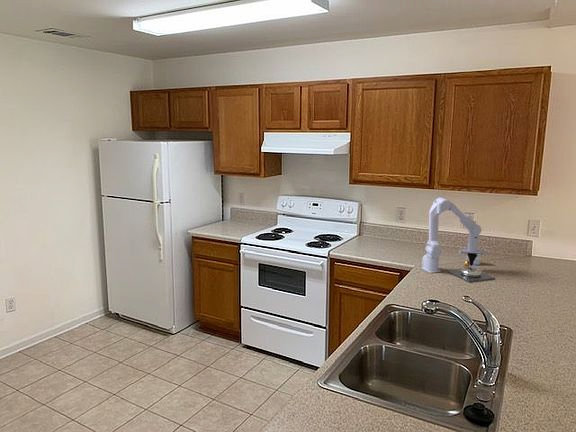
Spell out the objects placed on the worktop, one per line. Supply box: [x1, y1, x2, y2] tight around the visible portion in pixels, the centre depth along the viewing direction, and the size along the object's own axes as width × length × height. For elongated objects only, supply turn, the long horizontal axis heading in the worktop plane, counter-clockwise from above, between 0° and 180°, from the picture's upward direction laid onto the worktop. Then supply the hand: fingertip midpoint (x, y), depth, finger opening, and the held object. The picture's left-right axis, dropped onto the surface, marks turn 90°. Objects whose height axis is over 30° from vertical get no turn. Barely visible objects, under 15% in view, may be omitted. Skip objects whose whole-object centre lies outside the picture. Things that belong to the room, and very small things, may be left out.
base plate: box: [447, 269, 496, 284], centre depth 255 cm, size 18×18×1 cm
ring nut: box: [460, 260, 482, 277], centre depth 258 cm, size 18×11×4 cm, turn 171°
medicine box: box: [465, 254, 482, 266], centre depth 278 cm, size 8×4×9 cm, turn 62°
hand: (471, 265), depth 265 cm, fingers closed
